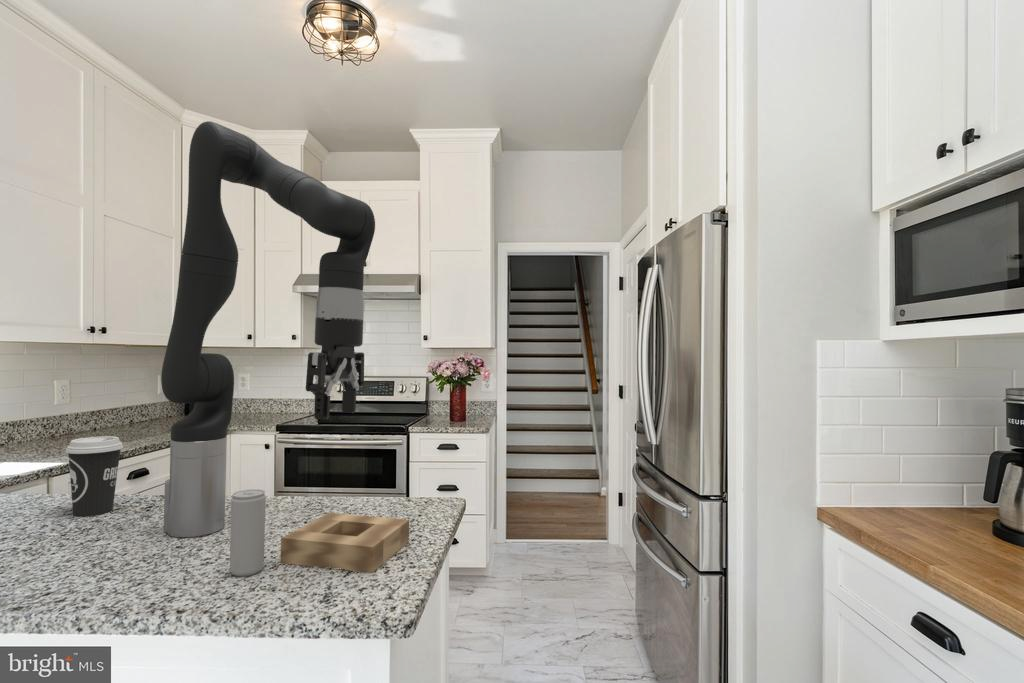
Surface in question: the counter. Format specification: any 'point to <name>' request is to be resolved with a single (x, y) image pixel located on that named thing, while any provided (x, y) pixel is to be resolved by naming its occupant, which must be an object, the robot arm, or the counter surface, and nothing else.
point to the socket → (345, 542)
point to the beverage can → (247, 532)
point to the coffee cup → (93, 474)
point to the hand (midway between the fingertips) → (335, 415)
